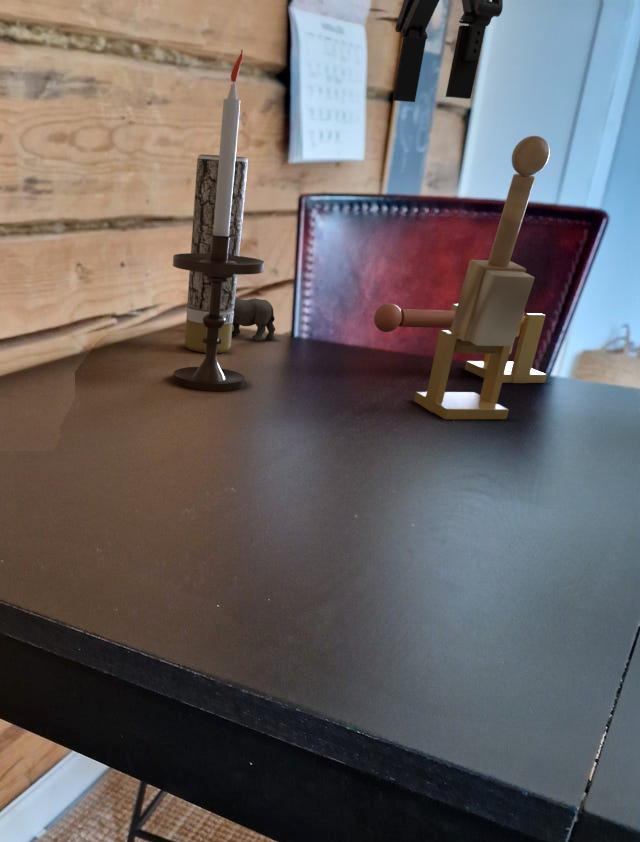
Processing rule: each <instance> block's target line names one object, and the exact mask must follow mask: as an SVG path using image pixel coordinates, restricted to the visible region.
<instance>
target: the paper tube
mask: <svg viewBox="0 0 640 842" xmlns="http://www.w3.org/2000/svg"><path fill="white" fill-rule="evenodd" d="M218 165H219V154H203V153H202V154H198V156H197V159H196V172H195V185H194V188H195V189H194V201H193V217H192V231H191V245H190V253H206V254H211V242H212V236H209V235H206V234H204V233H213V228H214V215H215V202H216V190H217V177H218ZM248 166H249V159H248V157H245V156H236V159H235V171H234V182H233V193H232V205H231V216H230V228H229V234H232V235H237V236H236V237H230V238H229V249H228V255H234V256H240V253H241V252H240V251H241V241H242V240H241V239H242V230H243V219H244V210H245V209H244V208H245V200H246V189H247V177H248ZM188 274H189V275H188V289H187V303H186V305H187V306H186V320H185V335H184V345H185V347H186V348H187V349H188V350H190V351H193V352H196V353H197V352H198V353H203V354H206V343H203V342H202V339H203V338H206V333H207V327H205V326H204V324H203V321H202V319H203V317H204V316H205V315H207V314H209V306H210V293H211V282H210V281H208V280H206V277H205V276H204V275H202V274H201V272H196V271H189V273H188ZM237 283H238V275H236V274H235V276H234V277H231V278H228V281H227V282H224V283H222V293H221V305H220V315H222V316H223V317H224V318H225V323H224V325H223V327H222V328H219V338H218V339H221V340H222V343H221V344H217V352H216V354H221V353H225V352H228V351H229V350H230V348H231V346H232V345H231V343H232V336H233V335H232V331H233V329H232V324H233V316H234V305H235V297H236V293H237ZM231 335H232V336H231Z"/></svg>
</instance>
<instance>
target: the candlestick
mask: <svg viewBox="0 0 640 842" xmlns="http://www.w3.org/2000/svg"><path fill="white" fill-rule="evenodd" d="M243 60H244V49H241V50H240V54H239V56H238V58H237V59H236V61H235V62H234V65H233V67H232V70H231V72H230V81H231V84H230V88H229V92H228V94H227V97H226V98H223V103H222V105H223V106H222V115H221V128H220V129H221V130H220V140H219V141H220V142H219V151H218V155H219V165H218V177H217V190H216V202H215V215H214V228H213V233H204V234H206V235H209V236H212V242H211V254H206V253H191V252H187V253H186V252H185V253H176V254H173V256H172V267H174V268H176V269H179V270H185V271H189V272H190V271H196V272H201V274H202V275H204V276H205V277H206V280H208V281H210V282H211V293H210V306H209V314H207V315H205V316H204V317H203V319H202V321H203V324H204V326H205V327H207V333H206V338H203V339H202V342H203V343H206V353H204V354H205V357H204V359H203V360H202V362H201V363H200V365H199V366H188V367H180V368H177V369H175V370H174V371H173V374H172V375H173V376H172V381H173V383H175V384H176V385H178V386H180V387H184V388H188V389H192V390H198V391H206V392H207V391H208V392H229V391H230V392H231V391H236V390H240V389H242V388H244V386H245V379H246V377H245V375H244V374H243V373H240V372H237V371H235V370H231V369H226V368H221V367H220V364H219V362H218V360H217V353H216V352H217V344H221V343H222V340H221V339H218V338H219V328H222V327H223V325H224V323H225V318H224V317H223V316H222V315H220V305H221V293H222V283H224V282H227V281H228V278H231V277H234V276H235V274H236V275H237V276H239V275H245V276H246V275H259V274H262V273H264V270H265V261H264V260H262V259H259V258H254V257H249V256H241V255H239V256H234V255H228V249H229V238H230V237H236V236H237V235H232V234H229V228H230V216H231V205H232V193H233V182H234V171H235V159H236V157H237V148H238V147H237V146H238V135H239V124H240V112H241V102H242V101H241V99H238V94H237V84H236V82H237V80H238V76H239V73H240V71H241V65H242V63H243ZM232 82H233V83H232Z"/></svg>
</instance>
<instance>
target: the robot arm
mask: <svg viewBox="0 0 640 842" xmlns="http://www.w3.org/2000/svg"><path fill="white" fill-rule="evenodd" d="M503 1H504V0H461V5H462V12H463V13H462V16H460V20H458V23H459V24H461V25H459V26H458V31H457V36H456V40H455V46H454V51H453V57H452V61H451V68H450V72H449V75H448V76H449V77H448V81H447V88H446V92H445V98H451V99H452V98H454V99H465V100H471V99H472V94H473V89H474V84H475V80H476V74H477V70H478V65H479V60H480V56H481V51H482V45H483V43H484V37H485V32H486V31H485V30H486V28H487V27H488V26H489V25H490V24H491V22H492V19H493V18H498V17H500V15H501V14H502V12H503V7H504V6H503V5H504V4H503V3H504V2H503ZM439 2H440V0H403V3H402V5H401V9H400V11H399V14H398V17H397V22H396V23H395V26H394V27H395V33H400V37H401V38H402V42H401V47H400V48H401V49H400V53H399V59H398V66H397V71H396V77H395V83H394V90H393V95H392V101H394V102H406V103H416V98H417V92H418V87H419V81H420V76H421V70H422V64H423V61H424V60H423V59H424V55H425V48H426V43H427V39H428V38H429V37H428V33H427V27H428V26H429V24H430V21H431V19H432V17H433V16H434V13H435V11H436V8H437V7H438V5H439Z"/></svg>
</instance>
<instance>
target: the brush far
mask: <svg viewBox="0 0 640 842" xmlns="http://www.w3.org/2000/svg"><path fill="white" fill-rule="evenodd" d="M451 304H452V305H451V308H450V310H445V309H444V310H443V309H441V310H440V309H409V308H408V309H403V308H400V307H399V306H398V305H397V304H395V303H391V302H387V303H384V304H382V305H380V306H379V307H378V308H377V309H376V311H375V313H374V315H373V321H374V325H375V327H376V328H377V330H379V331H381V332H384V333H390V332H393V331H395V330H396V329H397V328H399V327H400V328H437V329H438V328H440V329H441V328H442V329H447V330H449V331H451V327H452V323H453V320H454V316H455V313H456V309H457V306H458V303H451ZM525 314H526V313H525V311H524V313H523V316H522V319H521V322H520V325H519V328H518V331H517V334H516V337H520V334H521V330H522V326H523V323H524V319H525ZM516 337H515V338H516ZM514 344H515V342H514V343H513V346H511V349H510V353H509V355H512V351H513V349H514ZM470 354H472V355H473V354H474V355H475V354H477V355H479V354H481V355H485V354H489V353H470Z"/></svg>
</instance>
